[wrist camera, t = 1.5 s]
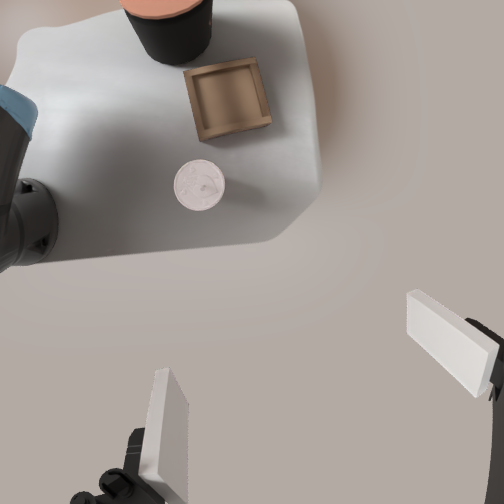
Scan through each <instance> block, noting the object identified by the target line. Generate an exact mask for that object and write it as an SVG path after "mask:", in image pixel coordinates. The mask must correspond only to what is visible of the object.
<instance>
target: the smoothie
mask: <svg viewBox="0 0 504 504" xmlns="http://www.w3.org/2000/svg"><path fill="white" fill-rule="evenodd" d="M224 190H225V179H224V176H223V173H222V172H221V170H220V168H218V167H217V166H216V165H215V164H214V163H212V162H210V161H207V160H203V159H199V160H193V161H190V162H188V163H186V164H185V165H183V166H182V167H181V168H180V169H179V170H178V172H177V174H176V176H175V179H174V192H175V195H176V197H177V199H178V200H179V202H180V203H181V204H182V205H183V206H185V207H187V208H188V209H191V210H196V211H202V210H207V209H209V208H211V207H213V206H215V205H216V204H217V203H218V202H219V201H220V199H221V198H222V196H223V193H224Z"/></svg>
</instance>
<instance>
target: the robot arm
mask: <svg viewBox="0 0 504 504" xmlns="http://www.w3.org/2000/svg"><path fill="white" fill-rule="evenodd" d="M37 117H38V110H37V106H36V104H35V103H34V102H33V101H32V100H30V99H29V98H27V97H26V96H24V95H22V94H21V93H19V92H17V91H15V90H13V89H11V88H9V87H6V86H4V85H0V273H1V272H3V271H4V270H5V269H7V268H9V267H10V266H28V265H32V264H35V263H37V262H38V261H40V260H41V259H43V258H44V257H45V256H47V255H48V253H49V252H50V251H51V249H52V248H53V246H54V243H55V241H56V237H57V232H58V215H57V210H56V206H55V203H54V201H53V198H52V197H51V195H50V193H49V192H48V190H47V189H46V188H45V187H44V186H43V185H42V184H41V183H39V182H38V181H36V180H33V179H29V178H22V179H18V177H19V173H20V169H21V166H22V163H23V159H24V156H25V153H26V150H27V147H28V144H29V141H31V139H32V132H33V129H34V126H35V123H36V120H37ZM407 334H408V335H409V336H410V337H412V338H413V339H414V340H415V341H416V342H417V343H418V344H419V345H420V346H422V347H423V348H424V349H425V350H426V351H427V352H428V353H429V354H430V355H431V356H432V357H433V358H434V359H436V360H437V361H438V362H439V363H440V364H441V365H442V366H443V367H444V368H445V369H446V370H447V371H448V372H449V373H450V374H451V375H452V376H454V378H456V379H457V380H458V381H459V382H460V383H461V384H462V385H463V386H464V387H465V388H466V389H467V390H468V391H469V392H470V393H471V394H472V395H473V396H474V397H475V398H477V397H478V396H480V395H481V394H482V393H484V392H485V391H486V390H487V387H488V384H489V381H490V382H491V383H493V384H494V385H493V388H492V391H491V394H490V397H489V401H490V400H491V398H492V396H493V431H492V449H491V461H490V471H489V479H488V486H487V492H486V499H485V504H504V339H503V338H501V337H500V336H498V335H497V334H496V333H494V332H493V331H491V330H489V329H488V328H487V327H485V326H483V325H482V324H481V323H480V322H478V321H477V320H473V319H470V318H466V319H465V320H464V319H462V318H461V317H459V316H458V315H456V314H455V313H453V312H452V311H451V310H449V309H448V308H446V307H445V306H443V305H442V304H440V303H438V302H437V301H436V300H434V299H433V298H431V297H429V296H428V295H427V294H425V293H423V292H422V291H420V290H419V289H415V290H413V291H410V292H408V293H407ZM188 408H189V403H188V402H187V400H186V398H185V396H184V394H183V392H182V390H181V388H180V386H179V385H178V383H177V381H176V379H175V377H174V375H173V373H172V371H171V369H170V367H168V368H163V369H158V370H156V373H155V378H154V383H153V388H152V394H151V398H150V404H149V410H148V415H147V422H146V427H145V428H138V429H134V431H133V433H132V434H131V436H130V437H129V441H128V448H127V451H126V454H127V455H126V456H125V462H124V467H123V470H122V469H119V468H114V469H110V470H108V471H106V472H105V473H104V474H103V475H102V476H101V478H100V480H99V487H100V489H101V490H102V491H103V492H104V493H105V494H102V495H98V496H95V497H94V496H93V495H92V494H91V493H89V492H85V491H83V492H79V493H77V494H75V495H74V496H73V497H72V499H71V501H70V504H165V501H166V502H167V503H168V504H188V480H187V479H188V476H187V475H188V469H187V467H188V464H187V463H188Z"/></svg>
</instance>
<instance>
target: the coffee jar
mask: <svg viewBox="0 0 504 504" xmlns="http://www.w3.org/2000/svg"><path fill="white" fill-rule="evenodd" d="M119 1H120V3H121V5H122V7H123V8H124V10H125V13H126V15H127V17H128V19H129V21H130V22H131V24H132V26H133V28H134V30H135V32H136V33H137V35H138V37H139V39H140V41H141V43H142V44H143V46H144V48H145V50H146V52H147V54H148V55H149V56H150V57H151V58H153V59H154V60H155V61H158V62H160V63H162V64H170V65H176V64H182V63H186V62H188V61H191V60H193V59H195V58H196V57H198V56H199V55H200V54H201V53H203V52H204V50H205V49H206V47H207V46H208V45H209V41H210V38H211V27H212V4H213V0H119Z"/></svg>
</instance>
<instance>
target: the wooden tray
mask: <svg viewBox="0 0 504 504" xmlns="http://www.w3.org/2000/svg"><path fill="white" fill-rule="evenodd" d="M183 73H184V78H185V82H186V86H187V91H188V95H189V99H190V103H191V108H192V112H193V116H194V120H195V124H196V129H197V133H198V137H199V140H200V141H203V140H207V139H211V138H215V137H219V136H223V135H228V134H232V133H236V132H241V131H245V130H250V129H255V128H260V127H265V126H268V125H269V124H271V123H272V119H271V115H270V111H269V107H268V103H267V99H266V95H265V91H264V87H263V84H262V80H261V76H260V72H259V69H258V65H257V61H256V58H255V57H250V58H244V59H238V60H233V61H227V62H222V63H217V64H213V65H208V66H204V67H199V68H195V69H191V70H187V71H183Z"/></svg>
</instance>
